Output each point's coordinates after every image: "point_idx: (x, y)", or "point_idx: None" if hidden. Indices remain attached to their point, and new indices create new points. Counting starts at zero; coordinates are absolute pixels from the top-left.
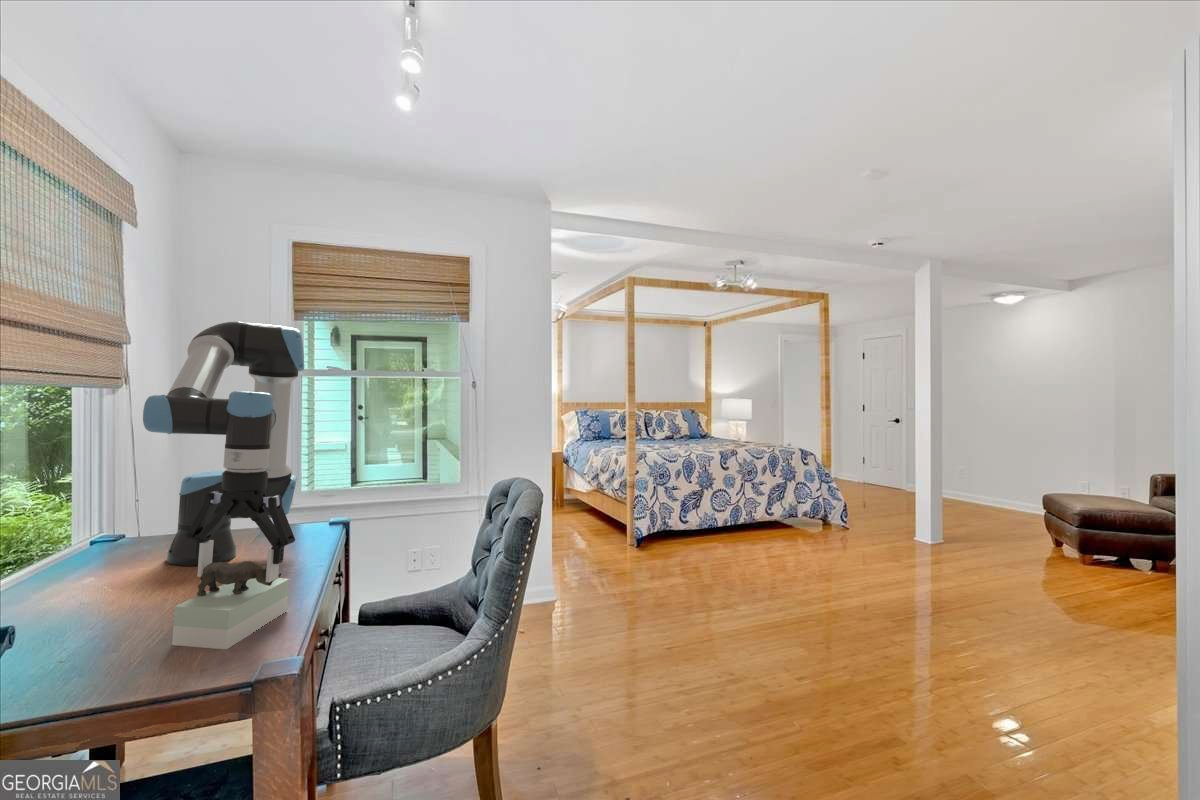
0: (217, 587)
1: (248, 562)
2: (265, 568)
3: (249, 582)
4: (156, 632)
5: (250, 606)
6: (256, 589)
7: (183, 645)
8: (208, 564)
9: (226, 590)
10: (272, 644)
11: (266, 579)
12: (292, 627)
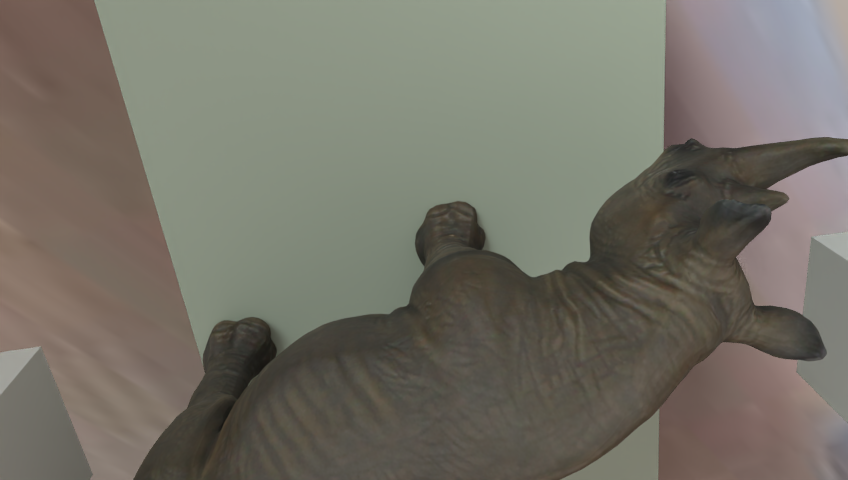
0: (260, 353)
1: (592, 460)
2: (790, 355)
3: (332, 40)
4: (76, 365)
5: None
6: (552, 193)
7: None
8: (5, 476)
9: (324, 299)
10: (762, 294)
11: (819, 385)
12: (752, 71)
